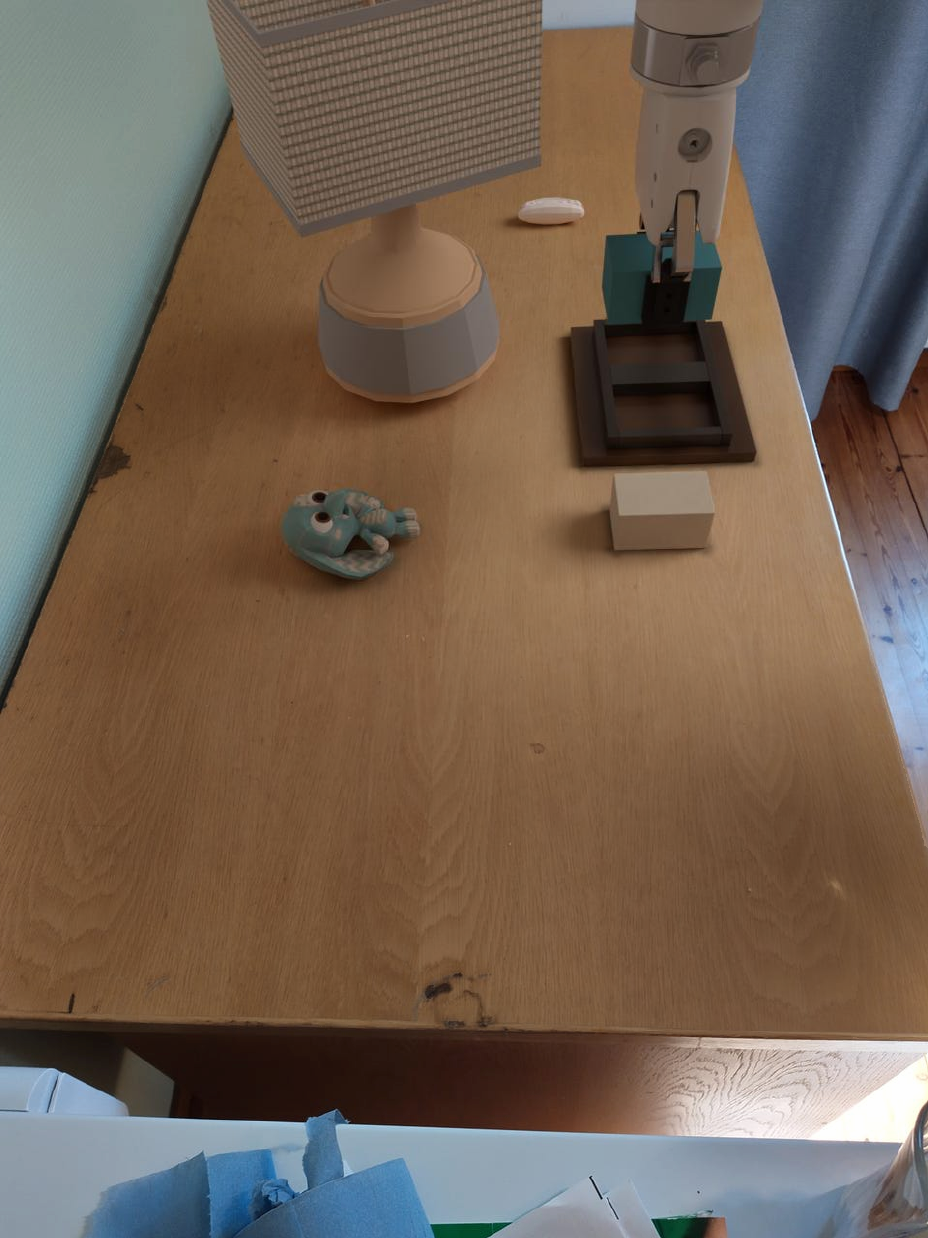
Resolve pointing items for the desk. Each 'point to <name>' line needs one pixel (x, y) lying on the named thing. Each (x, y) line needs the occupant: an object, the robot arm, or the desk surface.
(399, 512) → the stuffed animal
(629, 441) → the back plate
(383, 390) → the desk lamp
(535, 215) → the white soap bar
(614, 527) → the cream pad
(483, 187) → the desk surface
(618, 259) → the teal pad
